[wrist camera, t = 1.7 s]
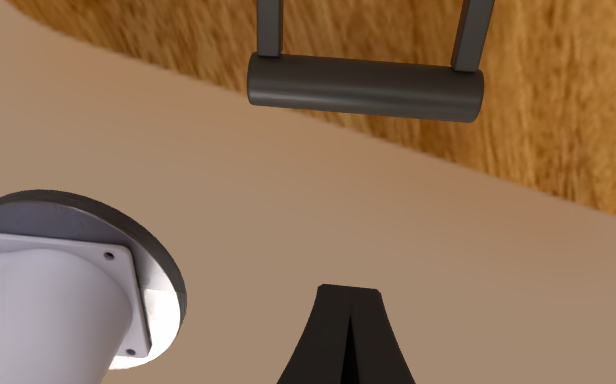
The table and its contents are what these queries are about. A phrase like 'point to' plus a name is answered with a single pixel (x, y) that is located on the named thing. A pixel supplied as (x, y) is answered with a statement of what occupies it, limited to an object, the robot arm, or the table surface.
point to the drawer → (370, 75)
